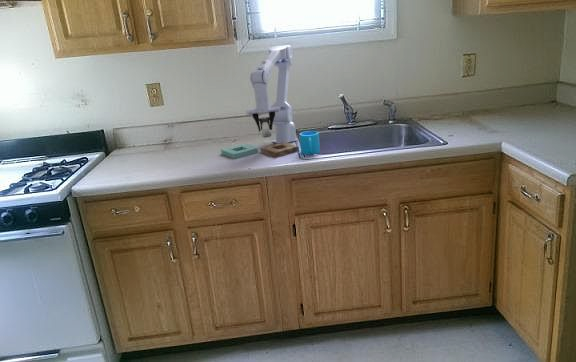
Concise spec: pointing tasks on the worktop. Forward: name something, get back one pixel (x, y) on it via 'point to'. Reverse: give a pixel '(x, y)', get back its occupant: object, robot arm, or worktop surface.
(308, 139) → the mug
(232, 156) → the socket board
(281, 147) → the mount board
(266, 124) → the lock pin
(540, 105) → the worktop surface
